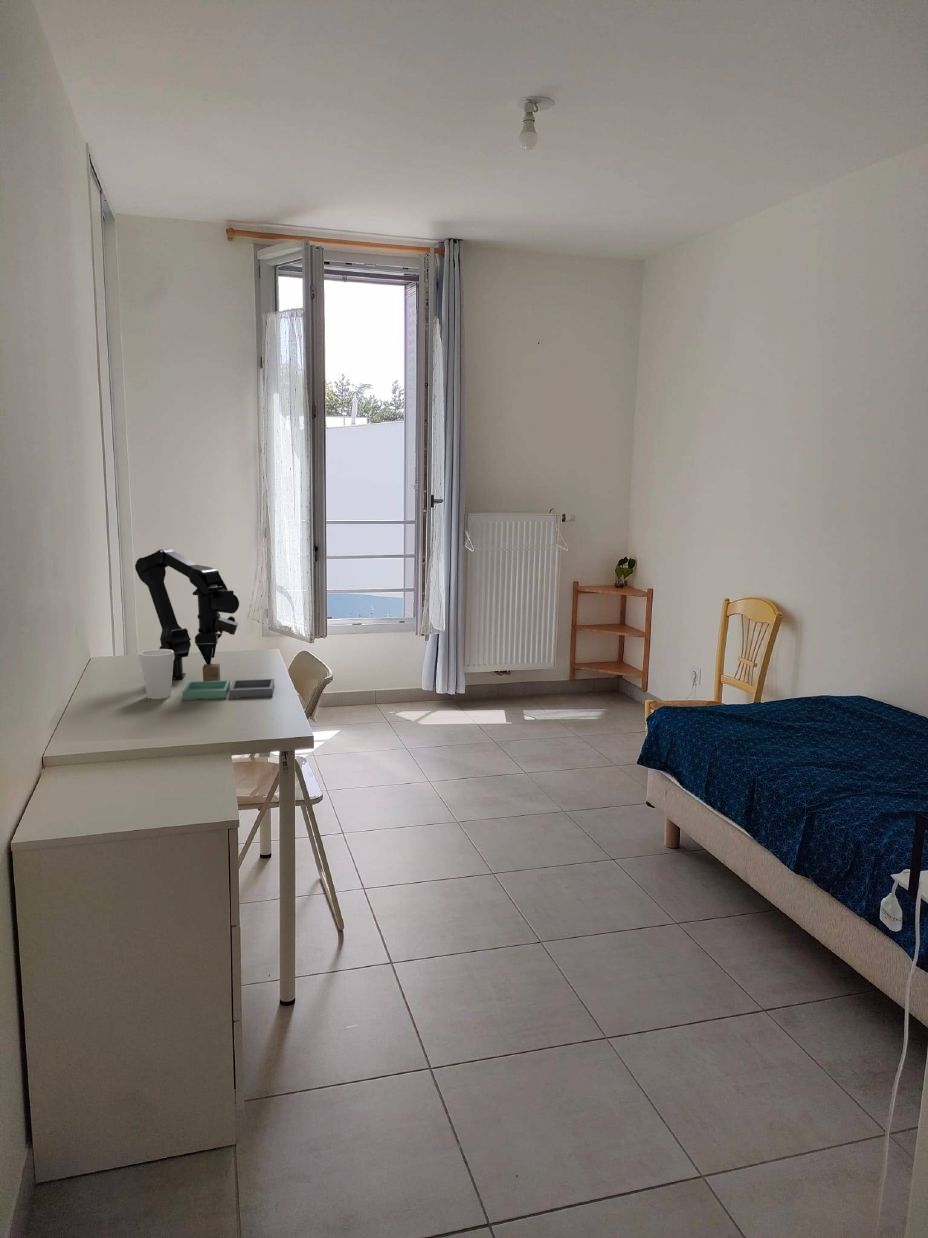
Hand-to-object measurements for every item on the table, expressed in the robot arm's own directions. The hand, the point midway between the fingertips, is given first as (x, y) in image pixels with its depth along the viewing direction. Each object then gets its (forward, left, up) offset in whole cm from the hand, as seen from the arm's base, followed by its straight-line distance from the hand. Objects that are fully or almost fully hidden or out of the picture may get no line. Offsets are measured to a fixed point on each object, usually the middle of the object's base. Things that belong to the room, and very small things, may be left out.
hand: (210, 661), depth 268 cm
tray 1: (+12, 0, -7) cm, 14 cm away
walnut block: (0, 0, -7) cm, 7 cm away
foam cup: (+12, -13, -8) cm, 20 cm away
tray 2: (+12, +13, -7) cm, 19 cm away
